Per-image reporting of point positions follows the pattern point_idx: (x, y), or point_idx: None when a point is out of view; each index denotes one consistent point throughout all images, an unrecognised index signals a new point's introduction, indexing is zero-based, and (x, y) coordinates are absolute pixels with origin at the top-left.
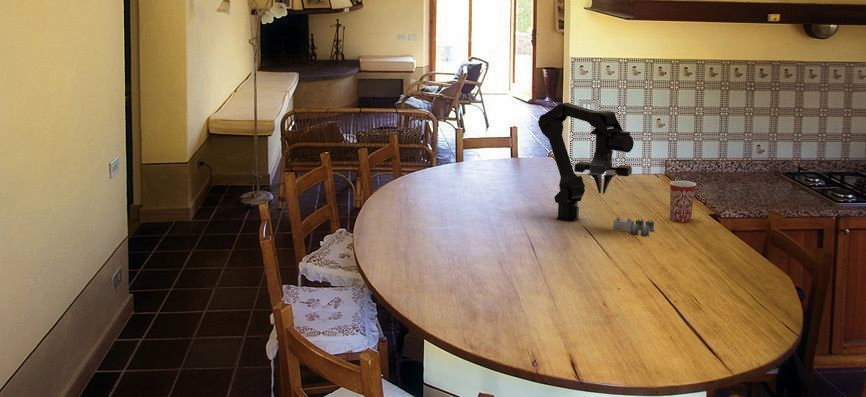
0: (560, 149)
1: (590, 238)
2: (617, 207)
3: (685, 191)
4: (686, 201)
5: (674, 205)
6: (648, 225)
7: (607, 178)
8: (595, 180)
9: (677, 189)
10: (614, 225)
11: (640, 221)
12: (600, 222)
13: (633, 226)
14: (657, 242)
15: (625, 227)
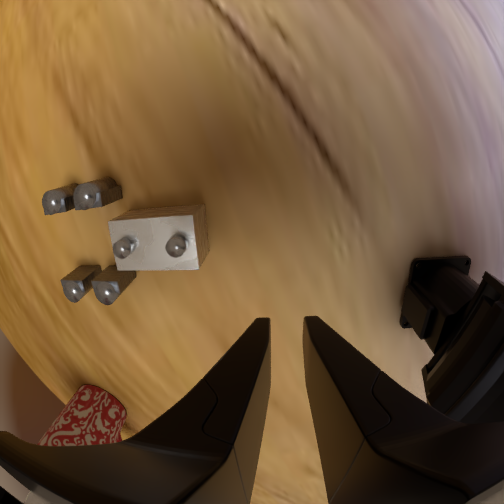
0: None
1: (248, 19)
2: (297, 453)
3: (39, 444)
4: (52, 424)
5: (82, 421)
6: (81, 274)
7: (119, 455)
8: (416, 407)
9: None
10: (193, 209)
11: (100, 281)
12: (303, 303)
13: (87, 182)
14: (26, 136)
15: (142, 213)
